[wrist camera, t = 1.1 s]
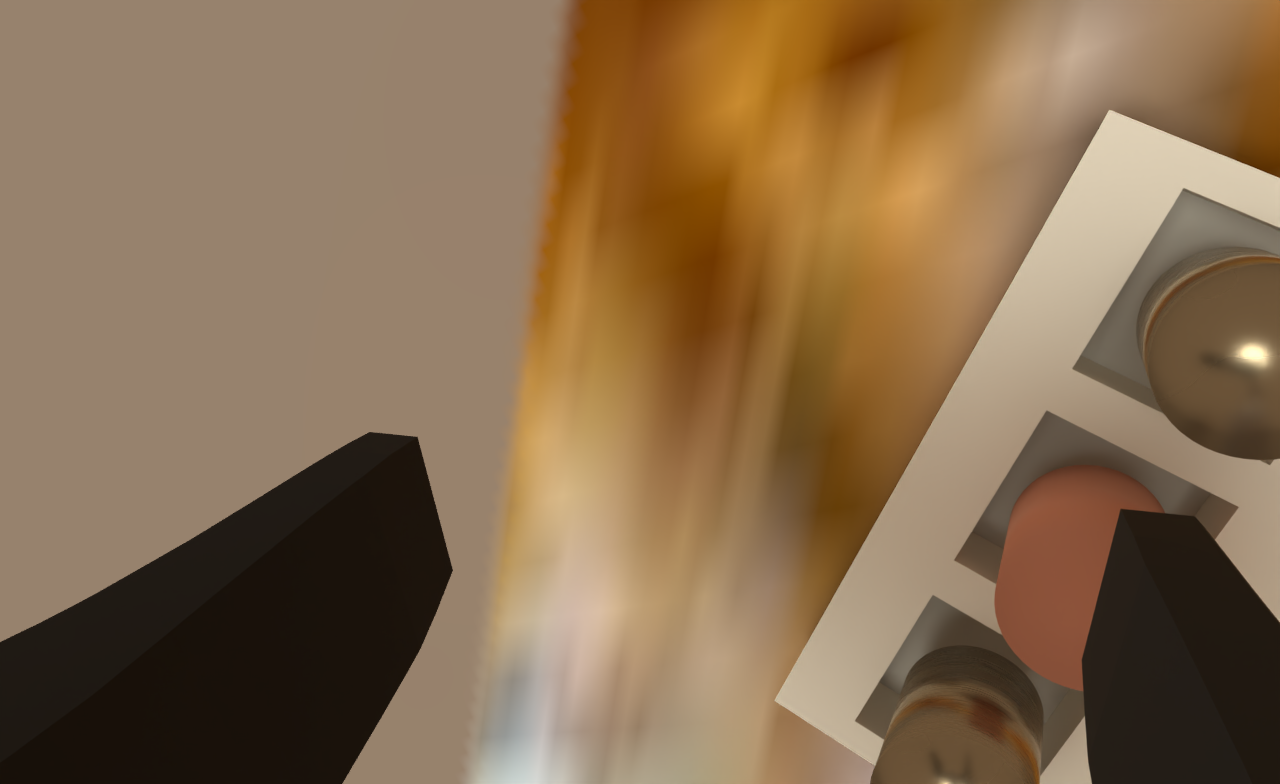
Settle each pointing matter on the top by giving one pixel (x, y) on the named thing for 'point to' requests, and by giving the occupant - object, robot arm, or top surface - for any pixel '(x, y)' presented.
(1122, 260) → the white slotted tray
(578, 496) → the top surface
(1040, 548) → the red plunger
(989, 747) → the bronze plunger
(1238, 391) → the bronze plunger
